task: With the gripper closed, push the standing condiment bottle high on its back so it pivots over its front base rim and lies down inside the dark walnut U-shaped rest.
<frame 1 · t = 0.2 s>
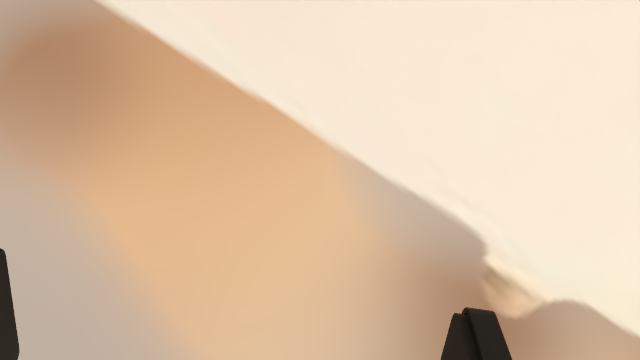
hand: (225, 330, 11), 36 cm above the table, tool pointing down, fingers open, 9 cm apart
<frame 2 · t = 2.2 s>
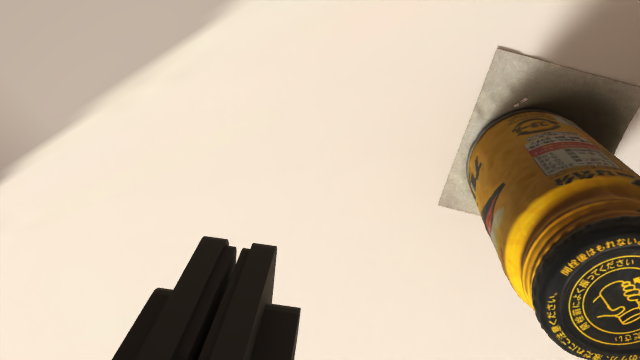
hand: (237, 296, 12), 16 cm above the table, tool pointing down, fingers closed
condiment: (533, 147, 27), on the table
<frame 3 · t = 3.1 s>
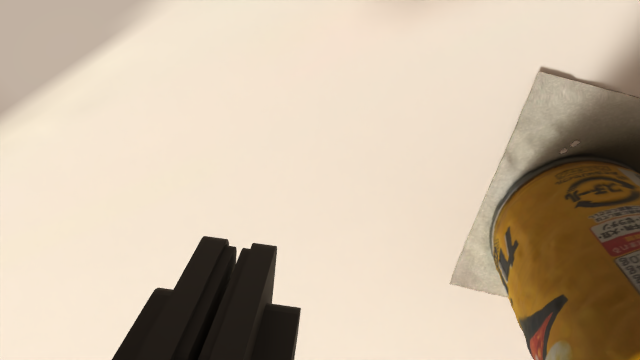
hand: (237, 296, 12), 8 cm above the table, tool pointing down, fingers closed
condiment: (584, 207, 19), on the table
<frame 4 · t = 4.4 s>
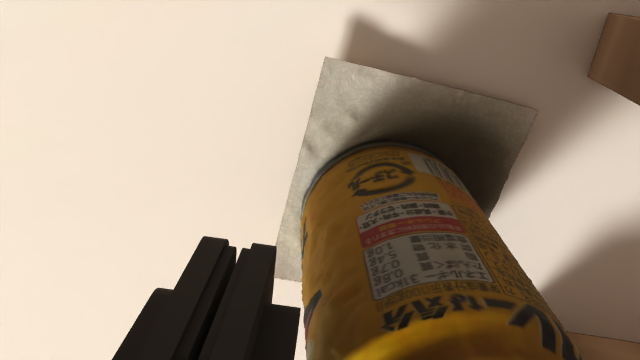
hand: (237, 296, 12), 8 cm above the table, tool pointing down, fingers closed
condiment: (391, 192, 19), on the table
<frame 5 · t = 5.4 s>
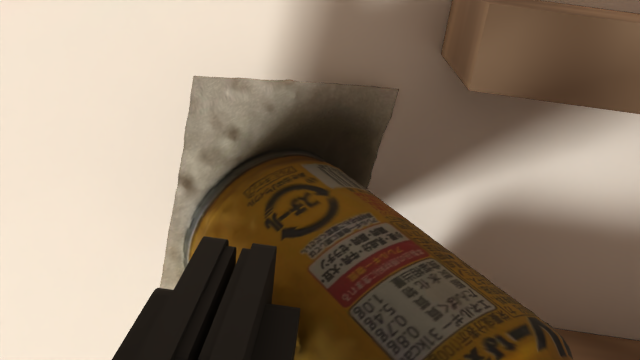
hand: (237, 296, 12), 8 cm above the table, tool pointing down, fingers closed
condiment: (272, 202, 17), point 2 cm above the table, touching gripper
u rest: (632, 223, 19), on the table
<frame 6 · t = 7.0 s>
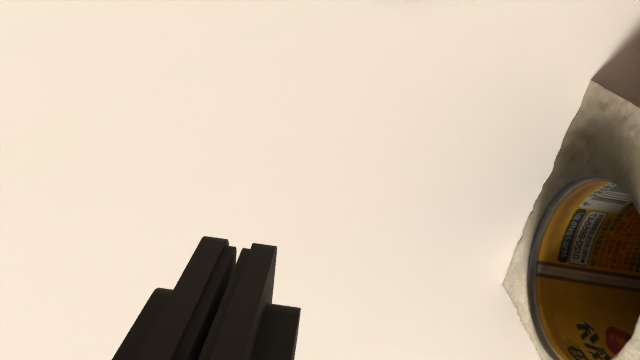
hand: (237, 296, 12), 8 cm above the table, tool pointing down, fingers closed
condiment: (576, 243, 16), point 4 cm above the table
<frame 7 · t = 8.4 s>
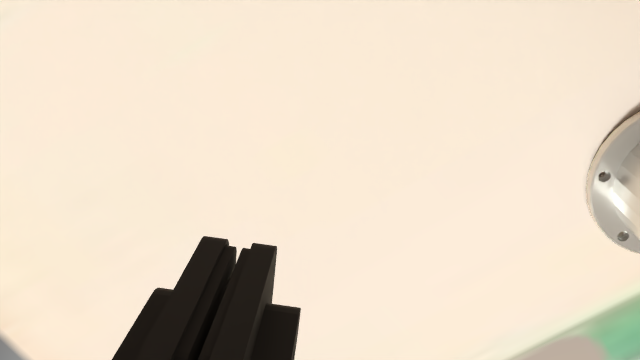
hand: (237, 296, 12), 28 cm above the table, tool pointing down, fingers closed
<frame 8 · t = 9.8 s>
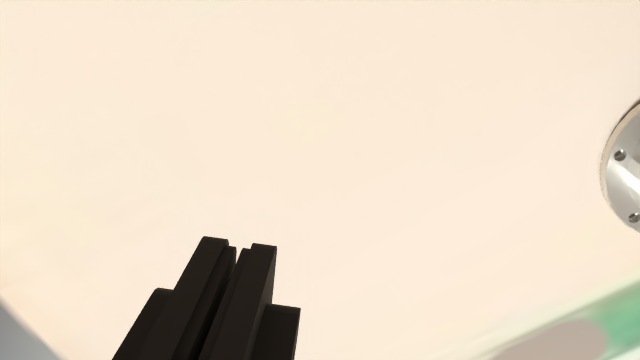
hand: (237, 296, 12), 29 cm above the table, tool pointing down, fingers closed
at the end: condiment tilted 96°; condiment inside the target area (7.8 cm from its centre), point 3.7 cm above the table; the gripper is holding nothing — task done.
